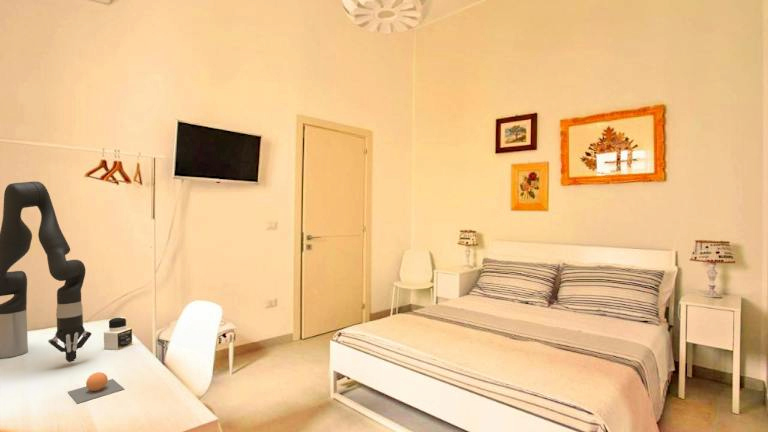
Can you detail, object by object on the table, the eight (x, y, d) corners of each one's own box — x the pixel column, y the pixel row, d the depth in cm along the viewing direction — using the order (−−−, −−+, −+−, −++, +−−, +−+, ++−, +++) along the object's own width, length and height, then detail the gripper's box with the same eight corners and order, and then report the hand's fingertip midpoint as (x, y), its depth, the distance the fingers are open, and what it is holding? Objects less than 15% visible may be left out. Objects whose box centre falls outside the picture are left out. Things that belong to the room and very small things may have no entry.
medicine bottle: (118, 350, 161) (117, 320, 161) (103, 349, 163) (102, 320, 163) (132, 344, 168) (131, 316, 168) (118, 343, 170) (117, 315, 170)
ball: (81, 390, 123) (82, 374, 122) (100, 382, 128) (101, 366, 127) (92, 397, 121) (93, 381, 120) (111, 388, 126) (112, 373, 125)
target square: (67, 392, 123) (67, 391, 123) (112, 379, 132) (112, 378, 132) (77, 403, 116) (77, 403, 116) (124, 389, 125) (124, 388, 125)
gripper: (49, 320, 138) (51, 369, 138) (94, 312, 149) (96, 357, 149) (43, 317, 143) (45, 364, 143) (87, 309, 153) (89, 353, 153)
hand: (71, 361), depth 146 cm, fingers closed
